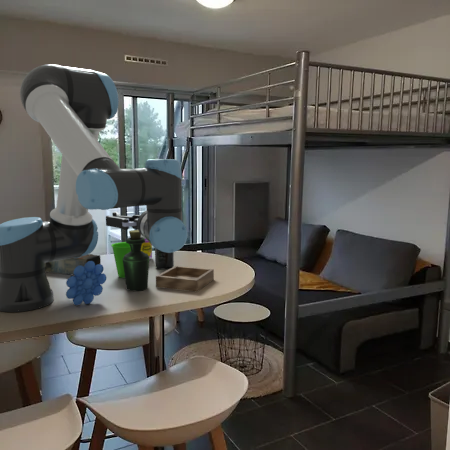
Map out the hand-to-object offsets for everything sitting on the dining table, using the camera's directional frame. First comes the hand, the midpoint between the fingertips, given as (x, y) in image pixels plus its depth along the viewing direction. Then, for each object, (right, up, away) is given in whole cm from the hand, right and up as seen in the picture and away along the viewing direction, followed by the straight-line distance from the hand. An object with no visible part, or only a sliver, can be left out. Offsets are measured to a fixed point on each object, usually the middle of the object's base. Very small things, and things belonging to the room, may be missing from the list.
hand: (140, 215), depth 121 cm
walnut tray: (+11, -22, +18) cm, 30 cm away
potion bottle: (-3, -23, +12) cm, 26 cm away
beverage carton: (-30, -20, +32) cm, 48 cm away
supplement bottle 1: (-9, -17, +51) cm, 54 cm away
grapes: (-15, -25, -1) cm, 29 cm away
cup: (-10, -20, +26) cm, 35 cm away
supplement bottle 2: (+2, -19, +38) cm, 42 cm away
